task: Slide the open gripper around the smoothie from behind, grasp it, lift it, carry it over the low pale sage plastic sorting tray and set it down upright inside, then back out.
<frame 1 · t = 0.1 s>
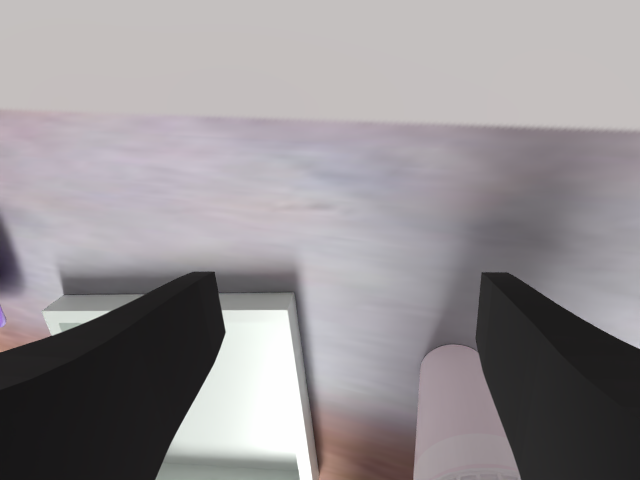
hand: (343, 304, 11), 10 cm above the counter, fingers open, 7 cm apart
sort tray: (198, 390, 27), on the counter
smoothie: (452, 368, 24), on the counter
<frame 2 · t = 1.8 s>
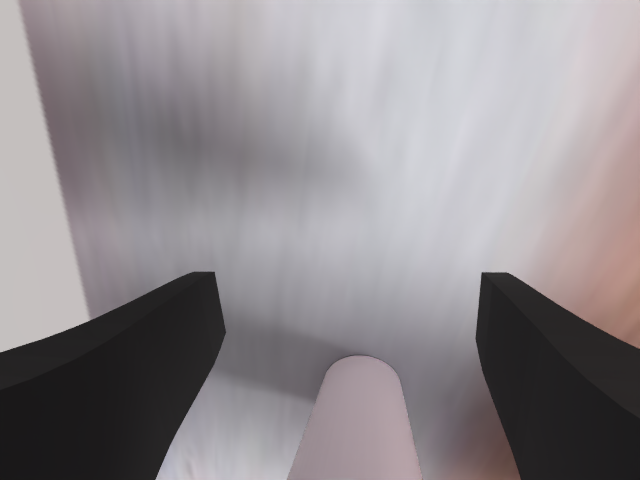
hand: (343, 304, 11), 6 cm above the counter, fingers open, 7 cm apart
smoothie: (362, 383, 20), on the counter
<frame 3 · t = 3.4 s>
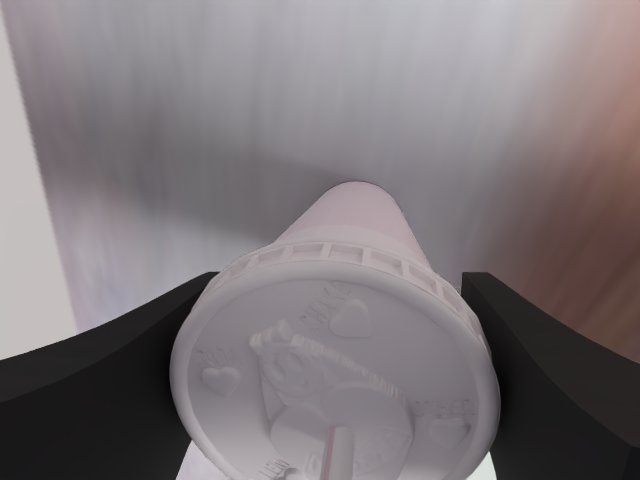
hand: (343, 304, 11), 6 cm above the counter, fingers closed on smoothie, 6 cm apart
smoothie: (356, 224, 17), on the counter, touching gripper
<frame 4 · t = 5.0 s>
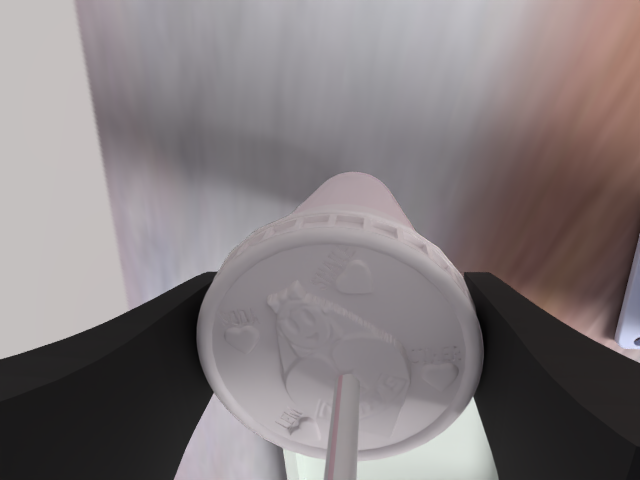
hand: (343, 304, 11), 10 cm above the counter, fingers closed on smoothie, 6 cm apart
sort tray: (399, 427, 26), on the counter
smoothie: (353, 211, 18), point 3 cm above the counter, touching gripper
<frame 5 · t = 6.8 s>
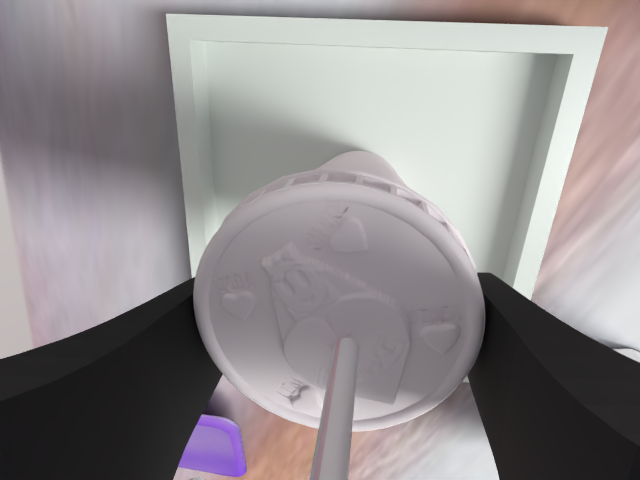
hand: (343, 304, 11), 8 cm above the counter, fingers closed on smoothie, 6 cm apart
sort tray: (359, 209, 18), on the counter
smoothie: (357, 192, 18), resting on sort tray, touching gripper
when the fingers open (7 cm above the counter, at t = 7.5 s): smoothie stays where it is, resting on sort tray.
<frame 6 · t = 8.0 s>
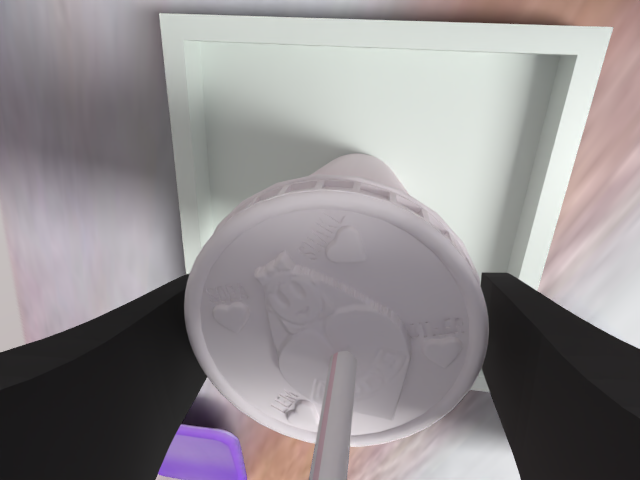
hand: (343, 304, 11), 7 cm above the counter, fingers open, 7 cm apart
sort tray: (358, 213, 18), on the counter
smoothie: (356, 195, 17), resting on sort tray
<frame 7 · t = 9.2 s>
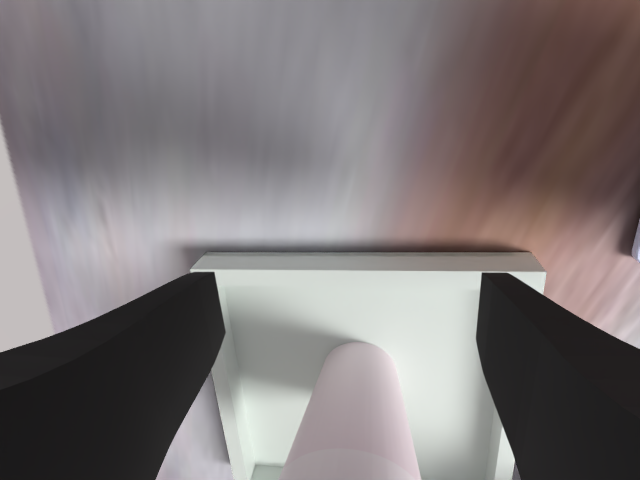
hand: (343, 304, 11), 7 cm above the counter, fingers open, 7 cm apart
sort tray: (362, 379, 21), on the counter
smoothie: (359, 369, 21), resting on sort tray
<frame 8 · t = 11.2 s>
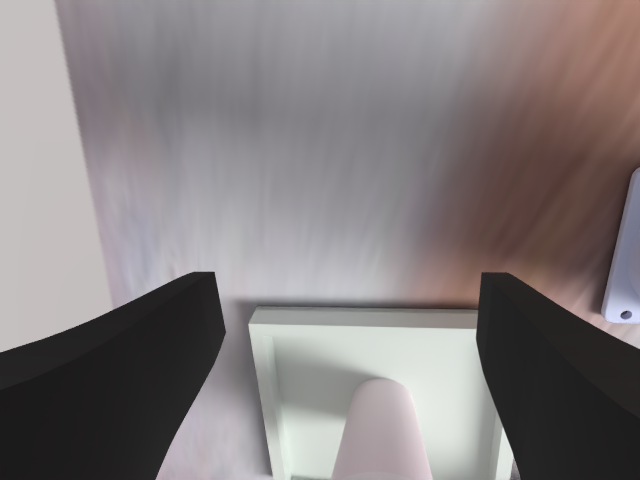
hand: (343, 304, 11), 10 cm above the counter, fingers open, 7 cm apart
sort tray: (384, 407, 26), on the counter
smoothie: (382, 399, 25), resting on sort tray
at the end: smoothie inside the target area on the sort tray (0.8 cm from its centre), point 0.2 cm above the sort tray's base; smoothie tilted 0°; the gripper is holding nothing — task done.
